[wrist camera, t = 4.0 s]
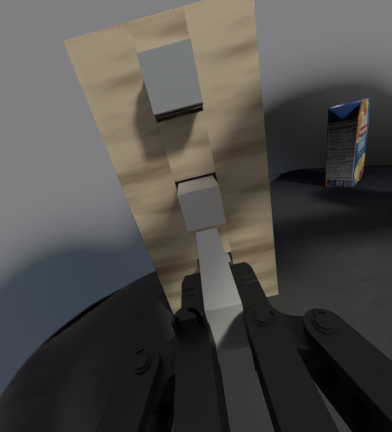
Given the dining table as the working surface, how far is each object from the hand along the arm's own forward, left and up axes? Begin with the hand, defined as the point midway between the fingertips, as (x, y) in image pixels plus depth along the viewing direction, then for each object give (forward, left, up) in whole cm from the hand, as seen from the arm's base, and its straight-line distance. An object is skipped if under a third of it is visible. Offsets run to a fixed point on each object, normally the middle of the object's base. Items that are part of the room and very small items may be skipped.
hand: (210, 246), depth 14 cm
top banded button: (-9, -5, +10) cm, 14 cm away
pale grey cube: (-9, -5, -2) cm, 10 cm away
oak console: (-15, -8, -20) cm, 26 cm away
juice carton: (-69, +17, -20) cm, 74 cm away
